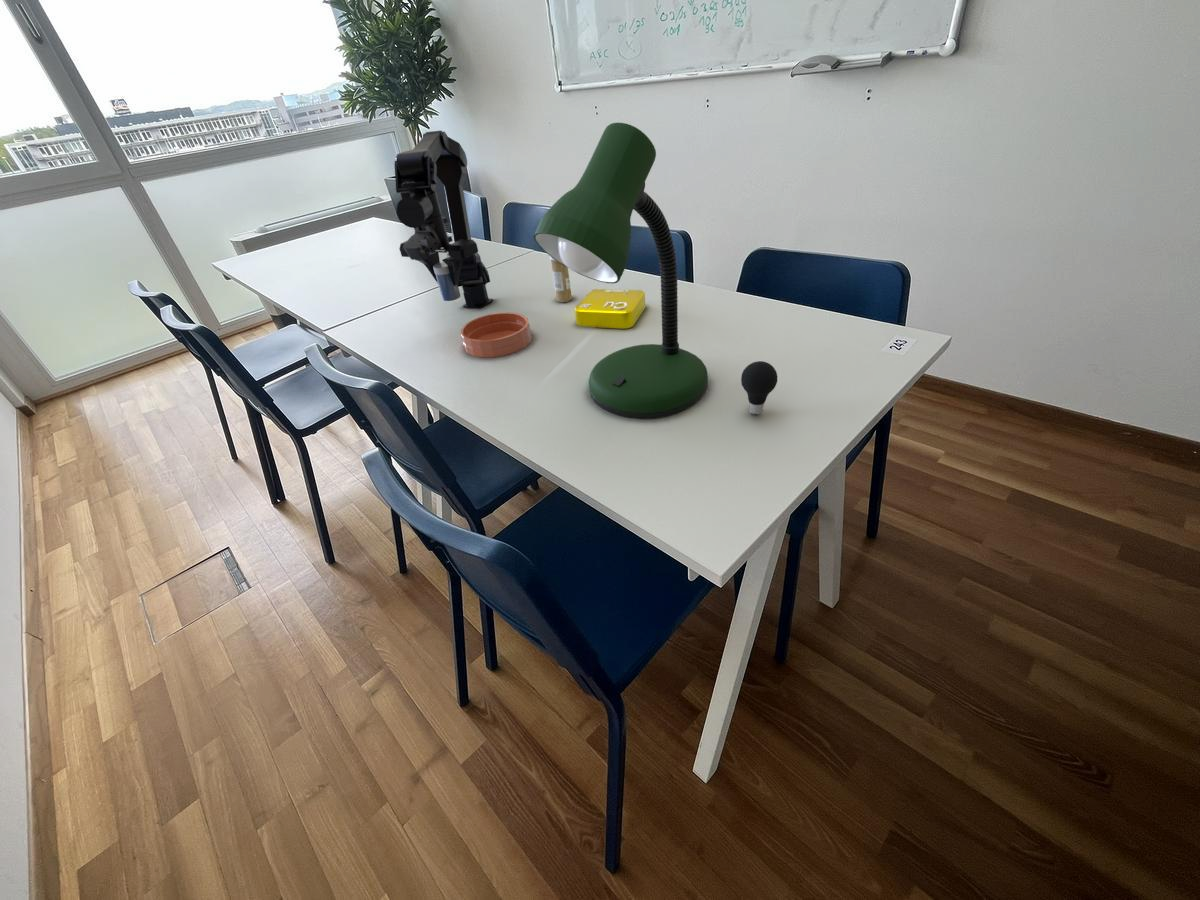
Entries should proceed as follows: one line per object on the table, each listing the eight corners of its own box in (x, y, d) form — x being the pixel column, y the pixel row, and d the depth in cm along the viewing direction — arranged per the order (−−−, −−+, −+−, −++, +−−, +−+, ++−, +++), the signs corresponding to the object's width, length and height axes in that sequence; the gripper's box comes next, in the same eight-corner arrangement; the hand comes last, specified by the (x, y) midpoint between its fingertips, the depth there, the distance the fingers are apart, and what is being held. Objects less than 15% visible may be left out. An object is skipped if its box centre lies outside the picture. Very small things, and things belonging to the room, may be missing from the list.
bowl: (490, 326, 134) (486, 310, 131) (543, 332, 128) (540, 315, 125) (451, 354, 122) (446, 337, 120) (508, 362, 116) (504, 344, 114)
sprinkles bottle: (575, 299, 144) (569, 250, 135) (561, 304, 142) (554, 254, 134) (567, 295, 147) (560, 247, 139) (553, 299, 145) (545, 251, 137)
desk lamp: (624, 456, 84) (597, 141, 57) (536, 412, 98) (481, 140, 71) (729, 379, 101) (746, 105, 74) (641, 350, 114) (629, 110, 87)
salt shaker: (449, 293, 129) (440, 261, 124) (464, 294, 127) (456, 262, 122) (438, 300, 125) (428, 267, 121) (453, 301, 124) (444, 268, 119)
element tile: (647, 305, 135) (646, 287, 132) (631, 329, 124) (630, 310, 121) (593, 303, 140) (592, 286, 137) (574, 326, 129) (571, 308, 126)
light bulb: (734, 407, 93) (737, 357, 87) (766, 403, 93) (771, 353, 87) (744, 425, 88) (748, 373, 82) (777, 420, 88) (784, 369, 82)
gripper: (372, 225, 113) (396, 294, 122) (439, 226, 106) (459, 299, 115) (406, 212, 120) (426, 278, 130) (470, 212, 113) (487, 282, 123)
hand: (448, 284), depth 124 cm, fingers closed on salt shaker, 4 cm apart
